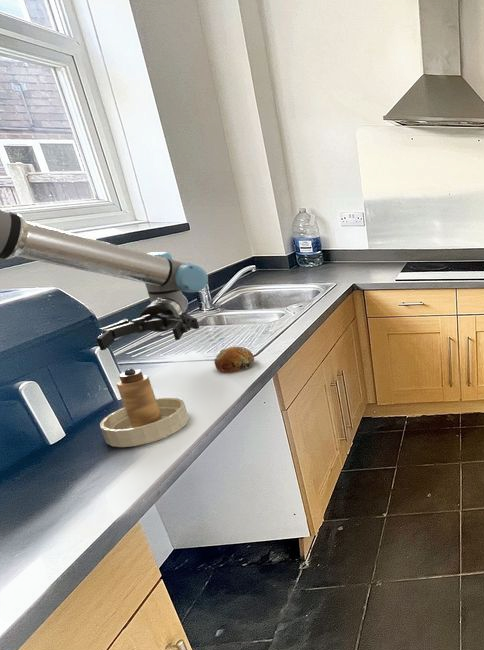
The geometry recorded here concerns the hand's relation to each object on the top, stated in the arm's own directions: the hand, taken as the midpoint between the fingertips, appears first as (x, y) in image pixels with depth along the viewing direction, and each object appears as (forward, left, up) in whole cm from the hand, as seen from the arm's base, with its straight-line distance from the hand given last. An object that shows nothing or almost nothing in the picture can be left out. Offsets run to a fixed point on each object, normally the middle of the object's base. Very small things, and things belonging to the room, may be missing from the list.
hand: (139, 339), depth 96 cm
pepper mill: (0, -11, -18) cm, 21 cm away
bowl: (0, -11, -18) cm, 21 cm away
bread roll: (+14, +21, -18) cm, 31 cm away
